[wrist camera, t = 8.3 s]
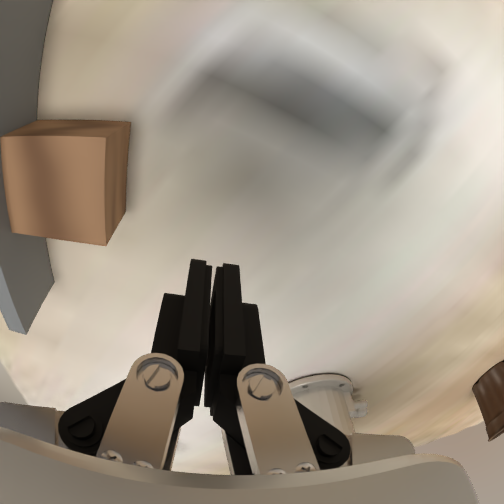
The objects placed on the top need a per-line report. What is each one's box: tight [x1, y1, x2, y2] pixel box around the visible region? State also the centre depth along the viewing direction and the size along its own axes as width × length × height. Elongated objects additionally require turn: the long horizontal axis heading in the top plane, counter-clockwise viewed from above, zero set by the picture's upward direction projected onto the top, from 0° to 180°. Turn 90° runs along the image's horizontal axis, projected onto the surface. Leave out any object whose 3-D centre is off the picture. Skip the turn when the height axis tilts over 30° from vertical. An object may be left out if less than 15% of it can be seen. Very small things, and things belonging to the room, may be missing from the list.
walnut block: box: [0, 120, 131, 246], centre depth 17 cm, size 8×7×5 cm
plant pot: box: [473, 361, 504, 441], centre depth 45 cm, size 16×16×16 cm
